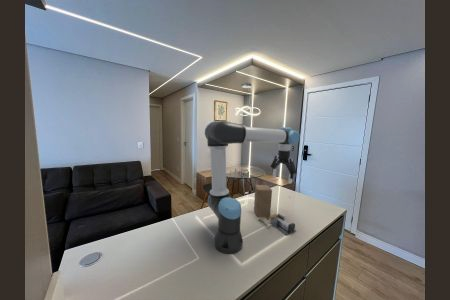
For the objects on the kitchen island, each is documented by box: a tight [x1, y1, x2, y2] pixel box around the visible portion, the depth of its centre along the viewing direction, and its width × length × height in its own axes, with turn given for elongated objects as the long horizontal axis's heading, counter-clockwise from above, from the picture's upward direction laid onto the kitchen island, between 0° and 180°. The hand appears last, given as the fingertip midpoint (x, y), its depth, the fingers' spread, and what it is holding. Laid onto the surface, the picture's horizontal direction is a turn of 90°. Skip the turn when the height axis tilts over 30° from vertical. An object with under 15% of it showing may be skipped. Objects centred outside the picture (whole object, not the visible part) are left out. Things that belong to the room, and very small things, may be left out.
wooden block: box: [253, 184, 273, 218], centre depth 120 cm, size 10×10×20 cm
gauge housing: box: [256, 213, 297, 236], centre depth 106 cm, size 14×20×5 cm
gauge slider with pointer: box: [265, 213, 296, 234], centre depth 103 cm, size 11×15×5 cm
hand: (281, 180), depth 116 cm, fingers open, 13 cm apart
